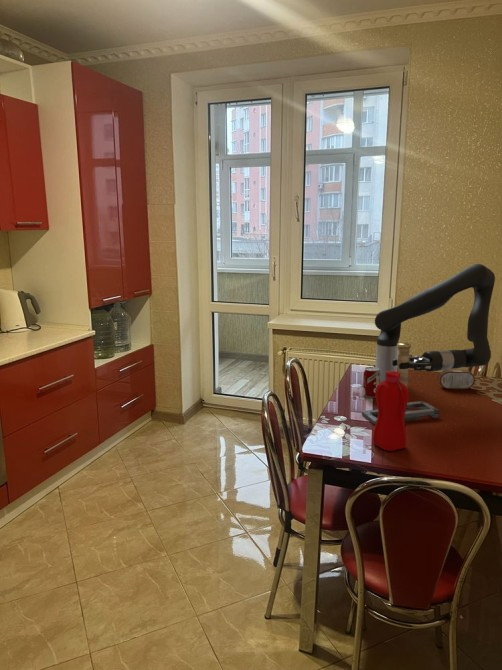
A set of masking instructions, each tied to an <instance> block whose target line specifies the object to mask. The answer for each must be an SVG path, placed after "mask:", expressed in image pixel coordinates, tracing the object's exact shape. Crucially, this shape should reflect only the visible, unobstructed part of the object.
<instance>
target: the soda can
mask: <svg viewBox="0 0 502 670" xmlns="http://www.w3.org/2000/svg"><path fill="white" fill-rule="evenodd" d="M362 381H363V384H362V395H363V396H364V397H366V398H368V399H376V397H375V392H376V388H377V386H378V384H379V383H380V372H379V368H376V367H375V366H367V367H365V370H364V371H363V380H362Z"/></svg>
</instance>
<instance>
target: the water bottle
mask: <svg viewBox="0 0 502 670" xmlns="http://www.w3.org/2000/svg"><path fill="white" fill-rule="evenodd" d="M375 397H376V398H375V403H376V407H377V409H378V415H377V417H376V418H377V421H376V425H374V428H373V432H372V433H373V434H372V435H373V436H372V441H373V442H372V443H374V444H375V446H377V447H379V448H380V449H382V450H383V449H384V451H385V450H387V451H386V452H394V451H398V450H401V449H402V450H403V449H404V448H405V447H406V445H407V430H406V425H405V424H406V423H405V422H404V417H405V412H406V406H407V403H409V399H410V395H409V389H408V387H406V385H404V384H403V383H402V382H400V372H397V371H387V372H386V380H385V381H383V382H381V383H379V384H378V386H377V388H376V392H375ZM397 449H398V450H397Z"/></svg>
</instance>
